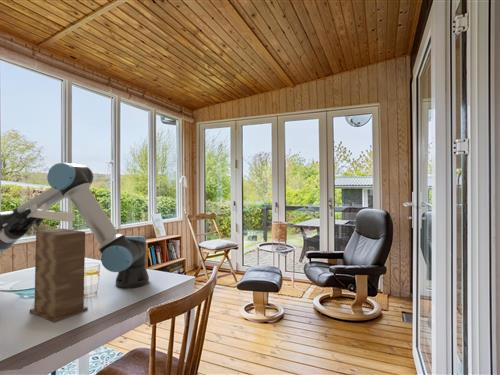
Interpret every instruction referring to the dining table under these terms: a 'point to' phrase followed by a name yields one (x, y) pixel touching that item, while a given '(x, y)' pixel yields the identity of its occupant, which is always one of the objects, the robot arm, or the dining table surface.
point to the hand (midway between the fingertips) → (41, 206)
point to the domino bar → (54, 215)
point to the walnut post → (59, 274)
